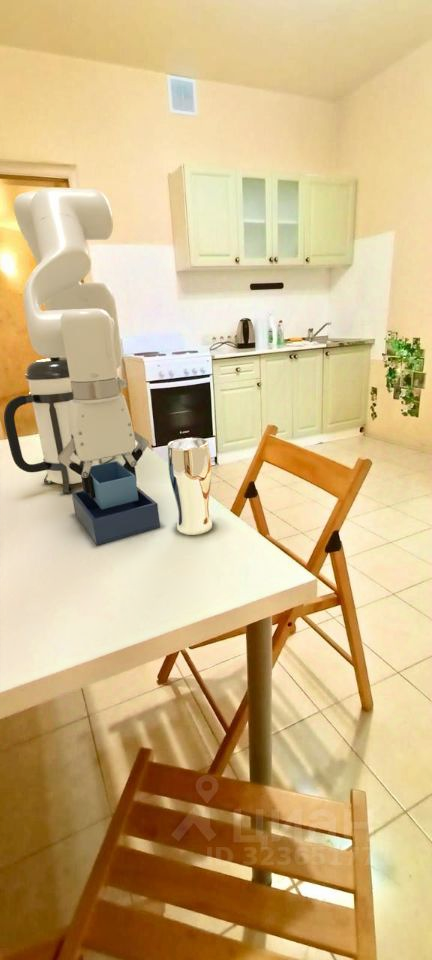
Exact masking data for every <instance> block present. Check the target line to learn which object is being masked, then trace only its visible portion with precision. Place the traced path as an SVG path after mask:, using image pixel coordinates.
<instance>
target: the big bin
mask: <svg viewBox="0 0 432 960" xmlns="http://www.w3.org/2000/svg"><path fill="white" fill-rule="evenodd" d="M137 492H138V500H137V501H133V502H129V503H125V504H121V505H117V506H113V507H109V508H105V509H101V508H100V507H99V505H98V504H97V503H96V502H95V500H94V499H91V497H90V496H89V495H88V493H87V494H85V492H84V490H79V491H74V492H71V497H72V498H71V499H72V503H73V508H74V514H75V516H76V518H77V519H78V521H79V522H80V523H81V526H82V527H83V528H84V529H85V530H86V532H87V533H88V535H89V537H90V538H91V539H92V541H93V542H94V544H95V545H96V546H100V545H103V544H107V543H110V542H114V541H116V540H121V539H124V538H127V537H131V536H134V535H138V534H141V533H144V532H149V531H152V530H154V529H159V528H160V527H161V522H160V515H159V514H160V513H159V505H158V503H157V502H156V501H155V500H154V499H153V498H152V497H150V496H149V495H148V494H147V493H146V492H145V491H143V490H142V489H141V488H140V487H138V486H137Z"/></svg>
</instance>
